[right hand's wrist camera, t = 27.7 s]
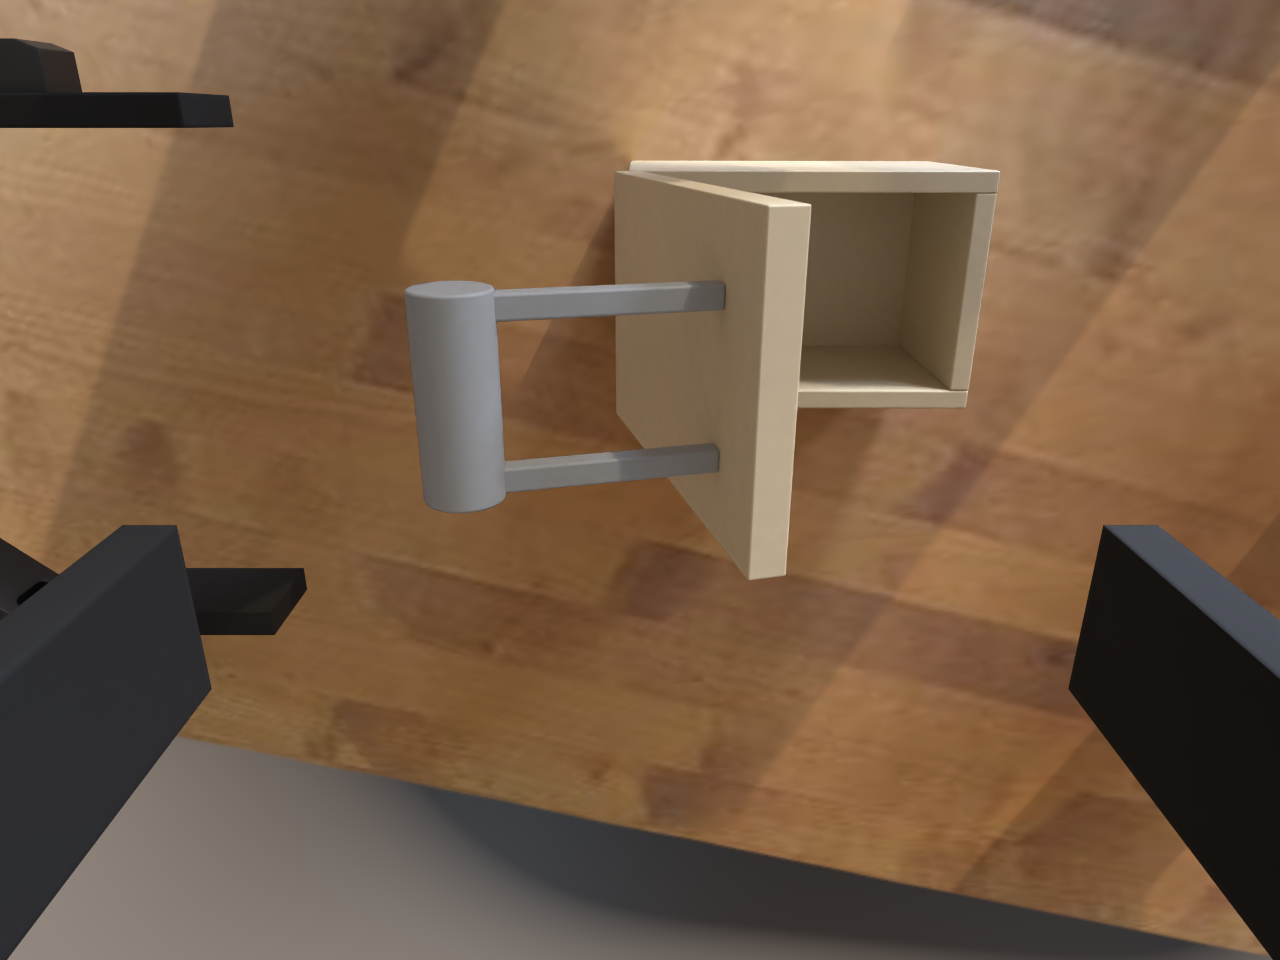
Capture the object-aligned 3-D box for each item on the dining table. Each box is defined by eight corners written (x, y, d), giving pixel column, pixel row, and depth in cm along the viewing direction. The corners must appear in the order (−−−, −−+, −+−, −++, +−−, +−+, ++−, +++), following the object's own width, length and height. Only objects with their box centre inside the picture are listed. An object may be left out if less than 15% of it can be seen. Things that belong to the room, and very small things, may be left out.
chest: (929, 161, 43) (1000, 170, 34) (907, 356, 47) (966, 409, 38) (630, 160, 43) (628, 170, 34) (631, 356, 47) (629, 408, 38)
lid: (812, 203, 20) (396, 213, 18) (786, 576, 24) (435, 621, 22) (642, 170, 34) (392, 173, 32) (641, 411, 38) (416, 429, 35)
